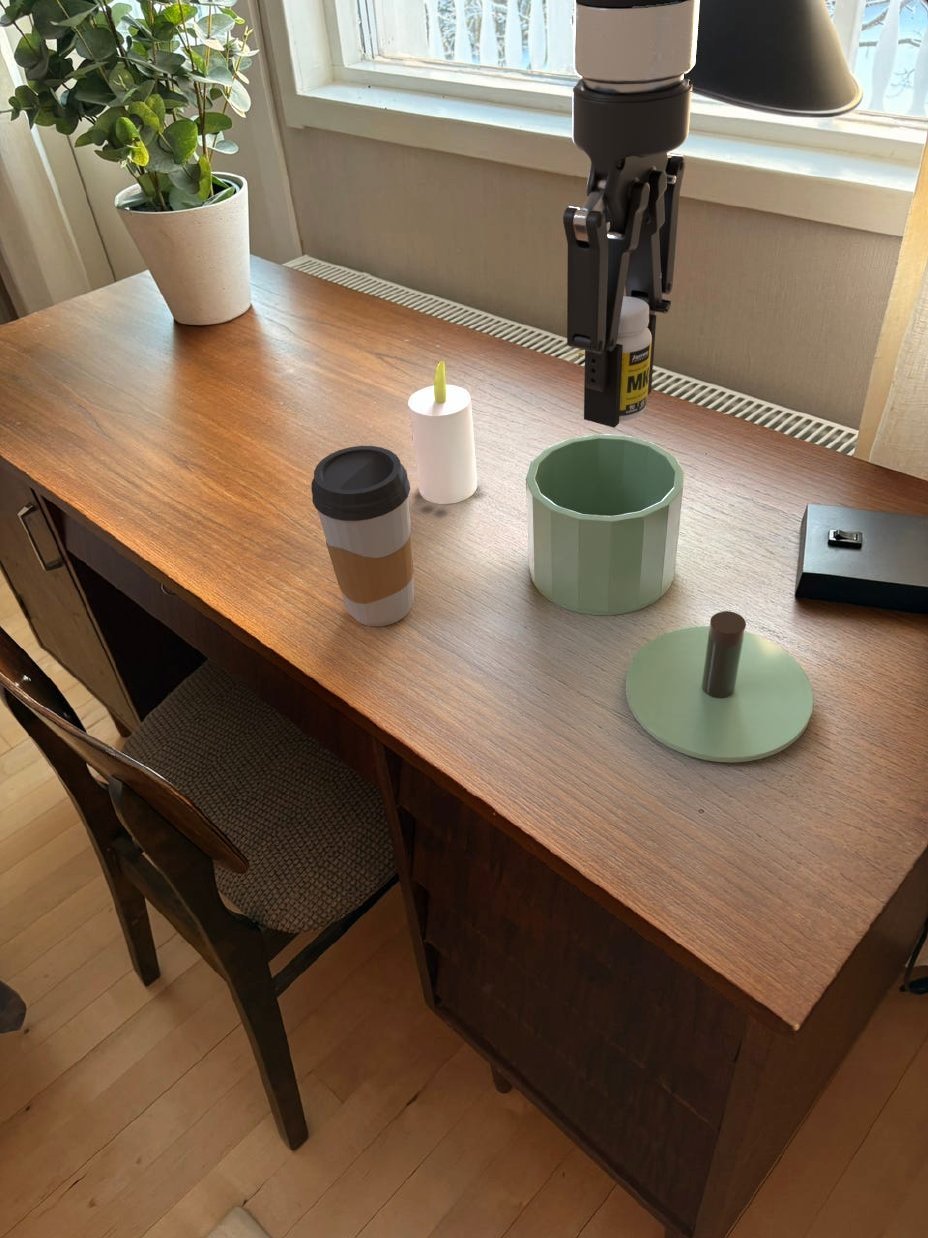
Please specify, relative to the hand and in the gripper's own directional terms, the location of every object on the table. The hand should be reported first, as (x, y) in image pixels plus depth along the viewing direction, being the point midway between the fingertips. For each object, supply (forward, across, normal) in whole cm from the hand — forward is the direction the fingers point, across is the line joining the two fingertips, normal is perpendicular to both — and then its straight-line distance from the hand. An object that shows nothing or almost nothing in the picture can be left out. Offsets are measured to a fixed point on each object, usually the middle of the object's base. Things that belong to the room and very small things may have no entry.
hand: (618, 404), depth 75 cm
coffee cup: (+19, +13, -17) cm, 29 cm away
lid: (+18, +8, +14) cm, 24 cm away
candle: (+19, -6, -23) cm, 30 cm away
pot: (+19, -2, -2) cm, 19 cm away
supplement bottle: (+1, 0, 0) cm, 1 cm away
